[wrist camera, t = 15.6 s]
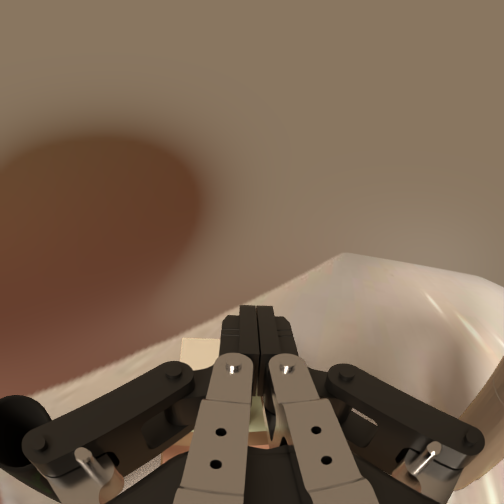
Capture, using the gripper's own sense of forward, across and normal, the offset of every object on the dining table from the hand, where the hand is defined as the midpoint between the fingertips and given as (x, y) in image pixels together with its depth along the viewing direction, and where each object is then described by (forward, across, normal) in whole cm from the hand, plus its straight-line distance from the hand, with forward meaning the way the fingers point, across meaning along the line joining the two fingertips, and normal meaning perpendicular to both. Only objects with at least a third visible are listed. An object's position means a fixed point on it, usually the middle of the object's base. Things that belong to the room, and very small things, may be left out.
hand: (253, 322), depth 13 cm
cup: (-4, +18, +22) cm, 29 cm away
